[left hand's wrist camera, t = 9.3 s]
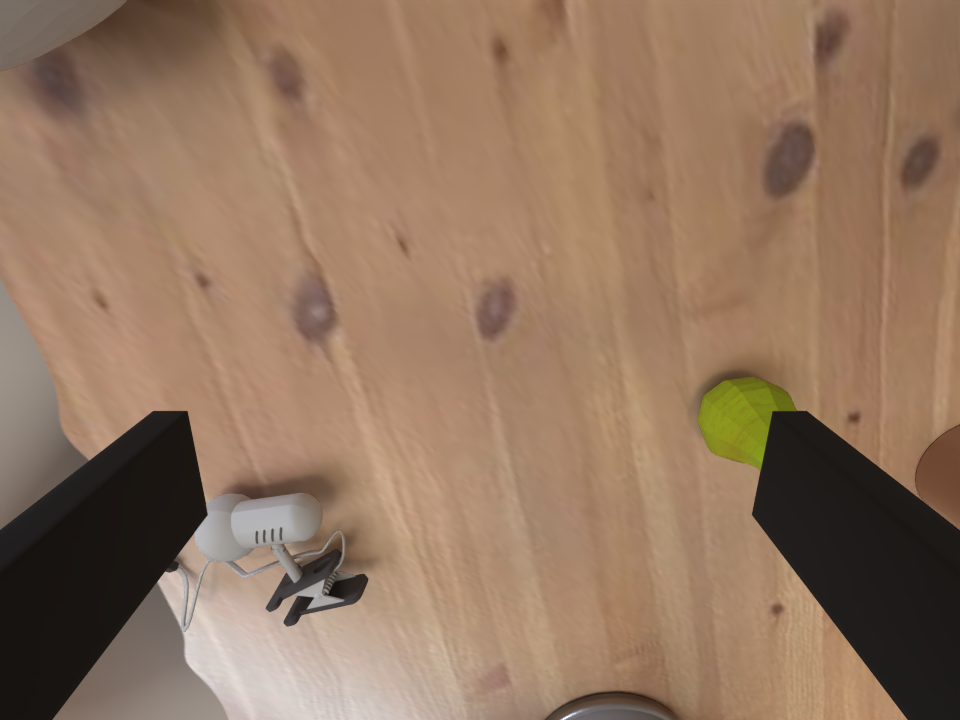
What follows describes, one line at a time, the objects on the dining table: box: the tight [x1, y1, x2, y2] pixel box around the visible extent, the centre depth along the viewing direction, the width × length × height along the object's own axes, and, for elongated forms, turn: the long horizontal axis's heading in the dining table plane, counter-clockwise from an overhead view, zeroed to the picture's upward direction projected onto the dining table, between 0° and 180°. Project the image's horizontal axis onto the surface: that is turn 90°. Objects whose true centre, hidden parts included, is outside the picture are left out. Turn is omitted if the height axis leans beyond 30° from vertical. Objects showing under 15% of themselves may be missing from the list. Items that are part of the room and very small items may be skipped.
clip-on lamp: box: [166, 493, 368, 632], centre depth 44 cm, size 12×6×18 cm
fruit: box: [697, 377, 797, 470], centre depth 37 cm, size 6×6×12 cm
